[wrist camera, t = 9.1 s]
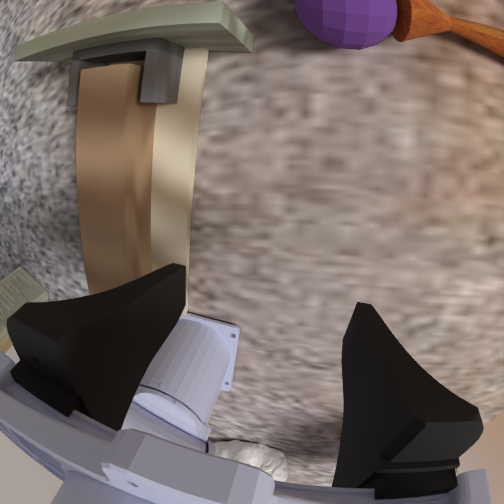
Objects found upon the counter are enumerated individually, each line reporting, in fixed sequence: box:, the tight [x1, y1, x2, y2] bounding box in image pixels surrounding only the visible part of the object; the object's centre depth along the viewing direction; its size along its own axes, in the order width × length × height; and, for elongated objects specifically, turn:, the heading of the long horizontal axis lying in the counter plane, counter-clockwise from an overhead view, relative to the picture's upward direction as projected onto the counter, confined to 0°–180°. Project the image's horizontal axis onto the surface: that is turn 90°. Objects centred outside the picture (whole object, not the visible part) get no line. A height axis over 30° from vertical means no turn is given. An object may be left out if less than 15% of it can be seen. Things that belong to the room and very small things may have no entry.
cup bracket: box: [14, 2, 254, 317], centre depth 19 cm, size 23×16×7 cm
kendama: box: [294, 0, 504, 58], centre depth 11 cm, size 6×6×20 cm
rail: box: [76, 64, 157, 295], centre depth 20 cm, size 18×4×4 cm, turn 172°
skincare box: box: [0, 266, 49, 354], centre depth 26 cm, size 6×4×12 cm
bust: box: [213, 440, 288, 482], centre depth 32 cm, size 12×8×11 cm
